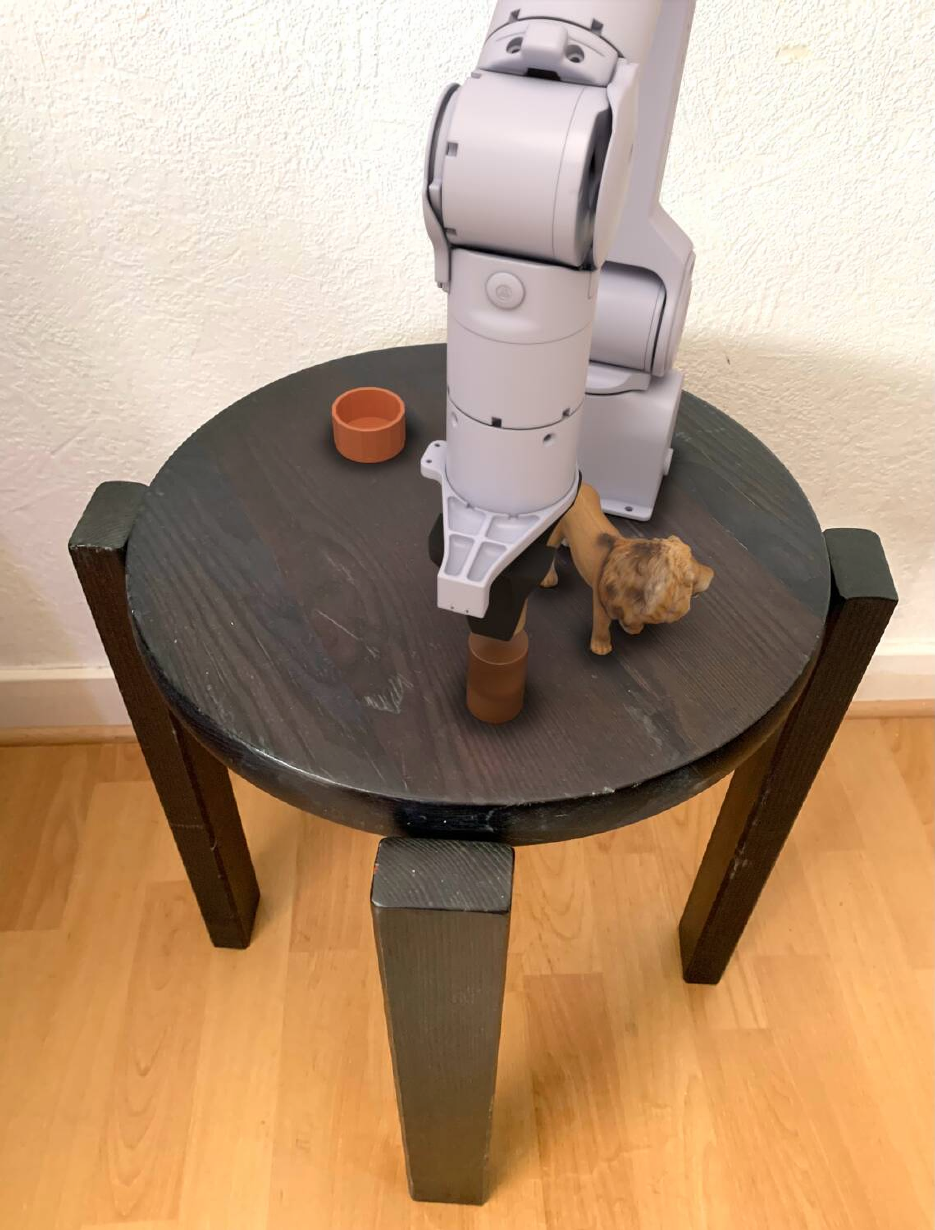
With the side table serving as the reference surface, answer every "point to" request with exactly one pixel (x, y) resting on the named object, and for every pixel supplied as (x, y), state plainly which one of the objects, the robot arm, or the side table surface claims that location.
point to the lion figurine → (626, 571)
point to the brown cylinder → (496, 676)
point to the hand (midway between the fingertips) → (500, 609)
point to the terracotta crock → (369, 424)
